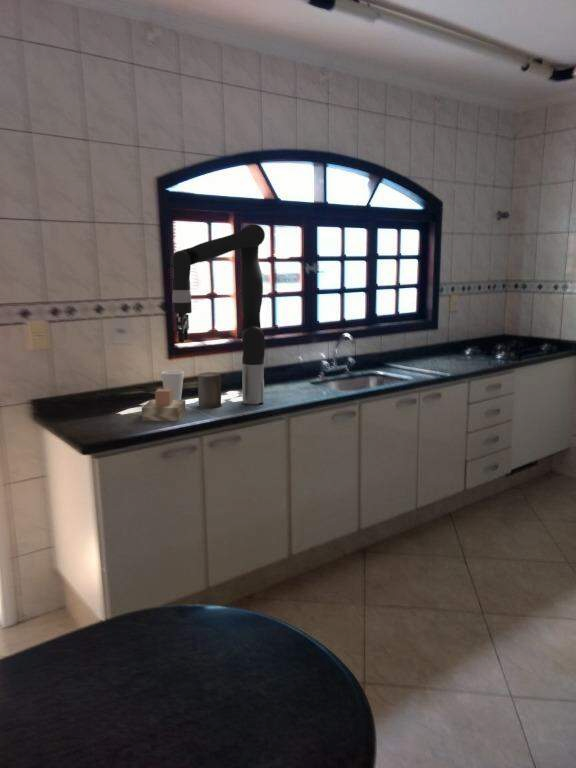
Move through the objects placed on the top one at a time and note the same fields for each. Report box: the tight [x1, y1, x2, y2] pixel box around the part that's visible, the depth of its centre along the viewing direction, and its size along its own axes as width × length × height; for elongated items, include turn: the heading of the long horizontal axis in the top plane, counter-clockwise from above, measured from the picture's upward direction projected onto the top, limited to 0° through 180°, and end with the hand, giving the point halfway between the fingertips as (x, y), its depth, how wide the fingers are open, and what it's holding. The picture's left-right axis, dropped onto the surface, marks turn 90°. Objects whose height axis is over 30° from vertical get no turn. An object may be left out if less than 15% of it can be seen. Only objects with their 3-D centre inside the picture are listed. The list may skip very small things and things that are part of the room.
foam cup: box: [160, 369, 185, 400], centre depth 250 cm, size 10×9×13 cm
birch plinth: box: [141, 399, 187, 422], centre depth 225 cm, size 14×14×5 cm
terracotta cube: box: [154, 388, 173, 405], centre depth 224 cm, size 6×6×6 cm
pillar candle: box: [197, 370, 222, 409], centre depth 242 cm, size 10×10×15 cm
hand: (183, 341), depth 235 cm, fingers open, 8 cm apart
